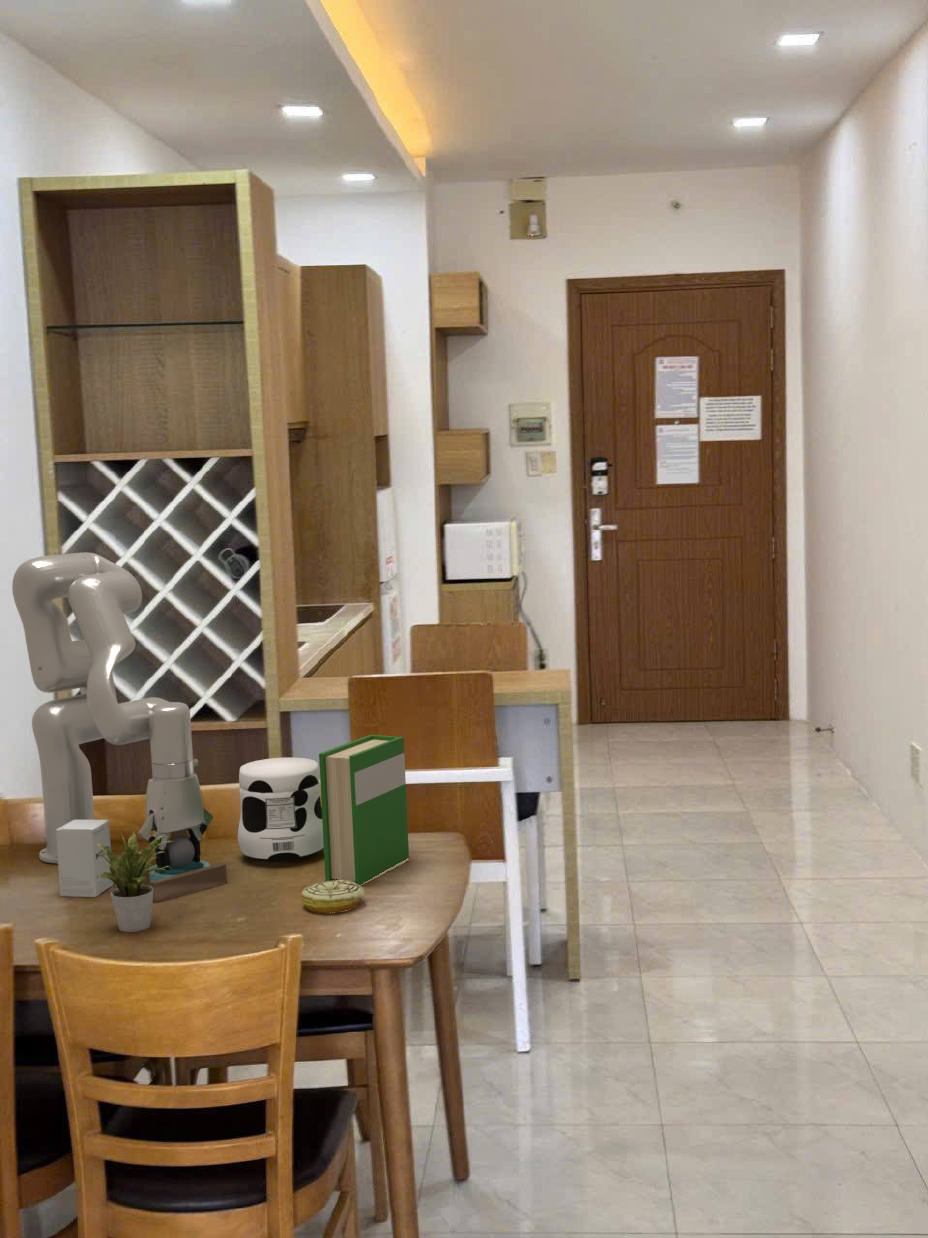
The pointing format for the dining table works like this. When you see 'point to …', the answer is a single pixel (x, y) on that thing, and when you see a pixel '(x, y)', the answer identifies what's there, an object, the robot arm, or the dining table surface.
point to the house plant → (132, 884)
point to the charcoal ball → (180, 851)
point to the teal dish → (176, 870)
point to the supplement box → (83, 857)
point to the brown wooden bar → (189, 882)
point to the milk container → (280, 810)
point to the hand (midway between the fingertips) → (178, 863)
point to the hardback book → (364, 808)
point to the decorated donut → (332, 896)
